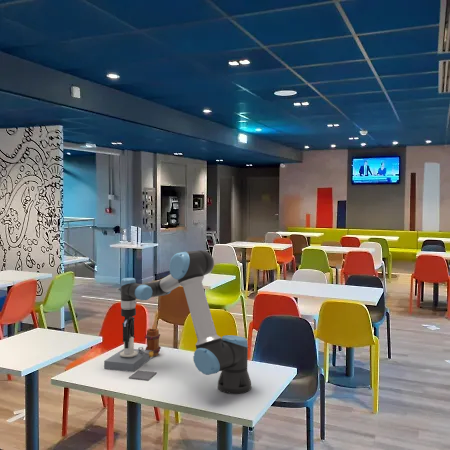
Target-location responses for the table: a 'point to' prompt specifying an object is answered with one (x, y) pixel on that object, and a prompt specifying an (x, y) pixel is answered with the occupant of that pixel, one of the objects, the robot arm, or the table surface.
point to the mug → (153, 340)
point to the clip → (146, 352)
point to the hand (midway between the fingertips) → (128, 352)
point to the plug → (132, 352)
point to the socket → (126, 361)
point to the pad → (142, 375)
